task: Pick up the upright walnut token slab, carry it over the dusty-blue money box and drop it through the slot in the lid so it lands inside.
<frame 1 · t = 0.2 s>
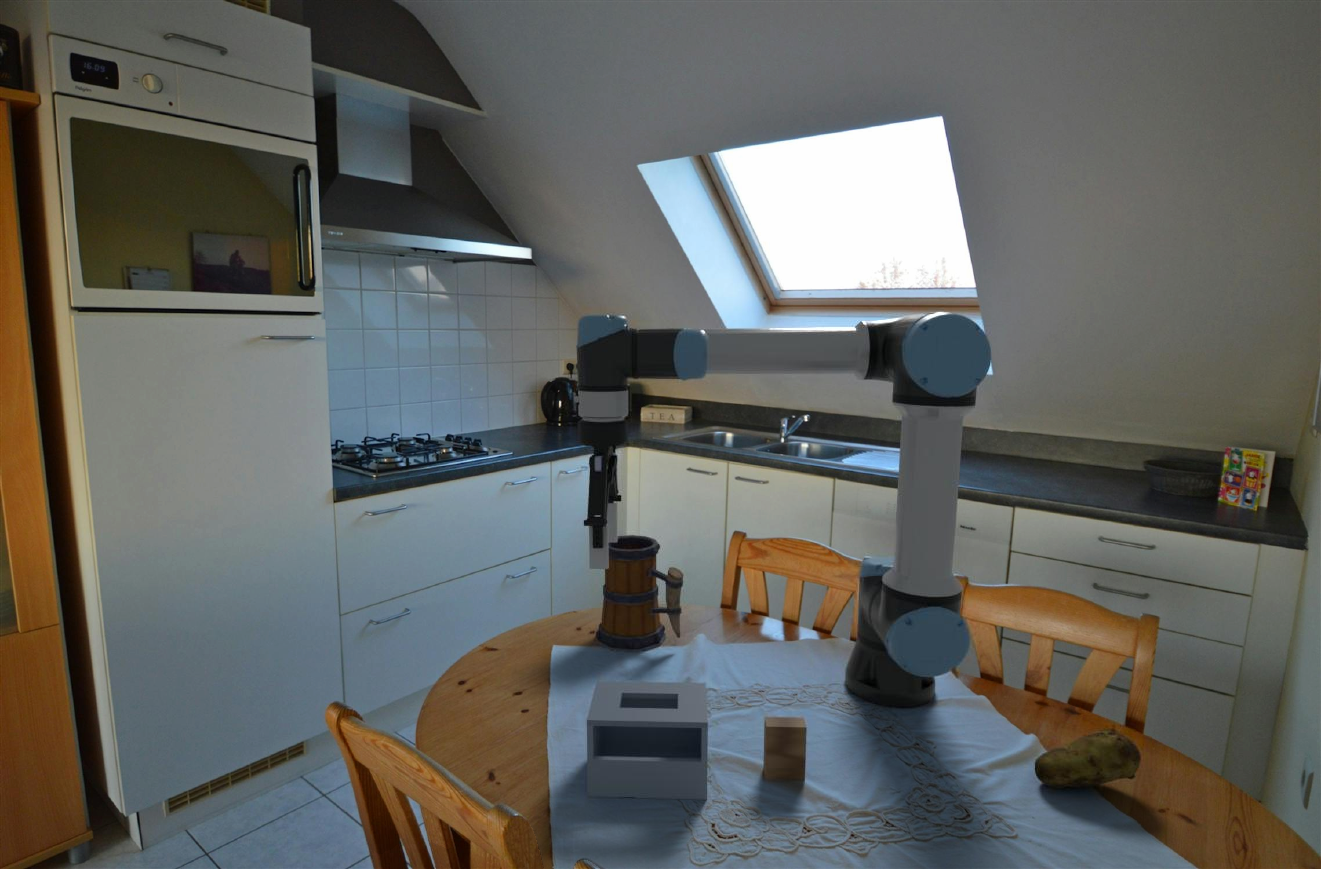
hand: (604, 554, 114), 28 cm above the table, fingers open, 13 cm apart
potato: (1083, 787, 102), on the table
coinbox: (649, 773, 104), on the table
token: (783, 774, 104), on the table
mug: (640, 640, 149), on the table
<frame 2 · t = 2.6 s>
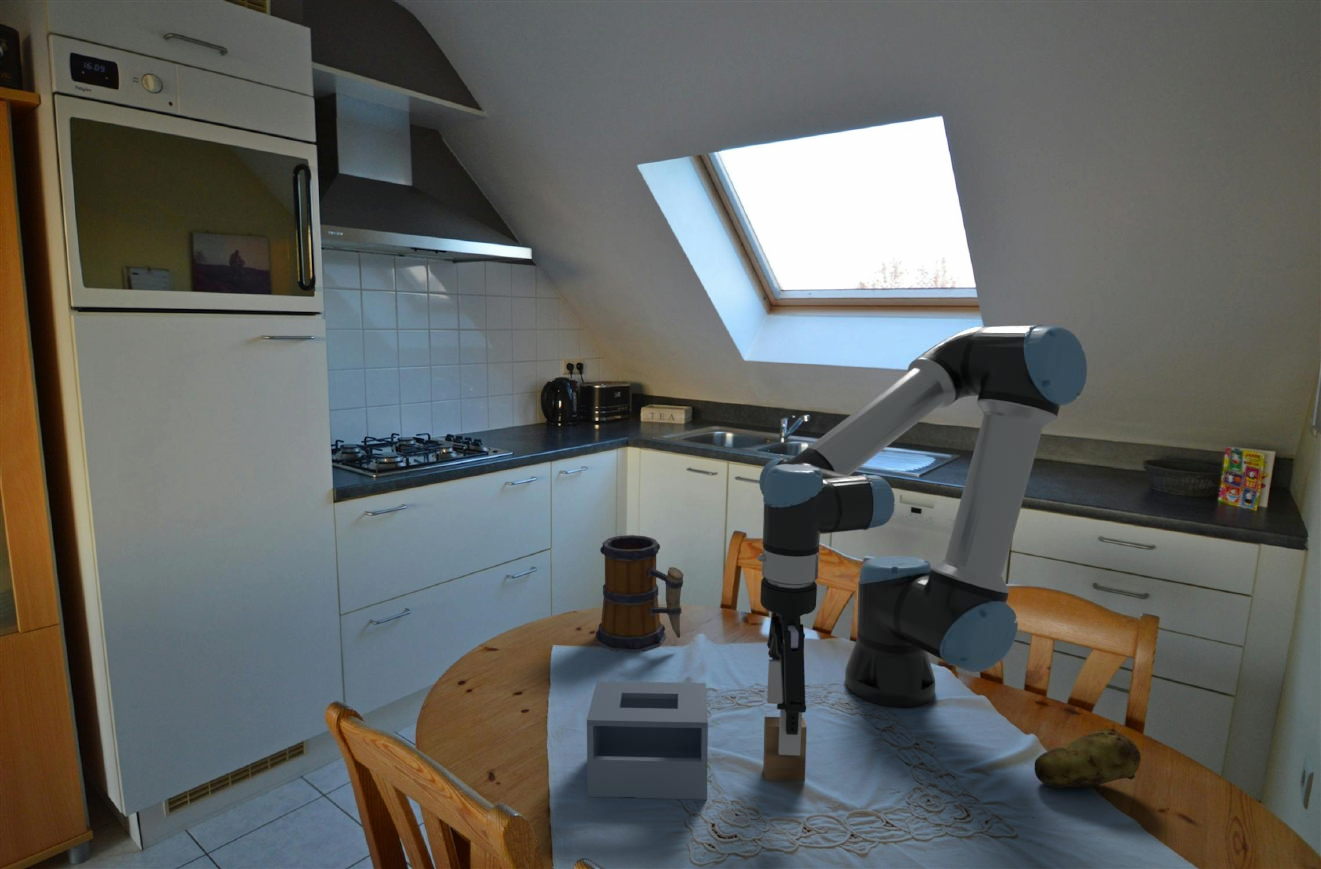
hand: (782, 726, 103), 7 cm above the table, fingers open, 13 cm apart
nothing on the table moved.
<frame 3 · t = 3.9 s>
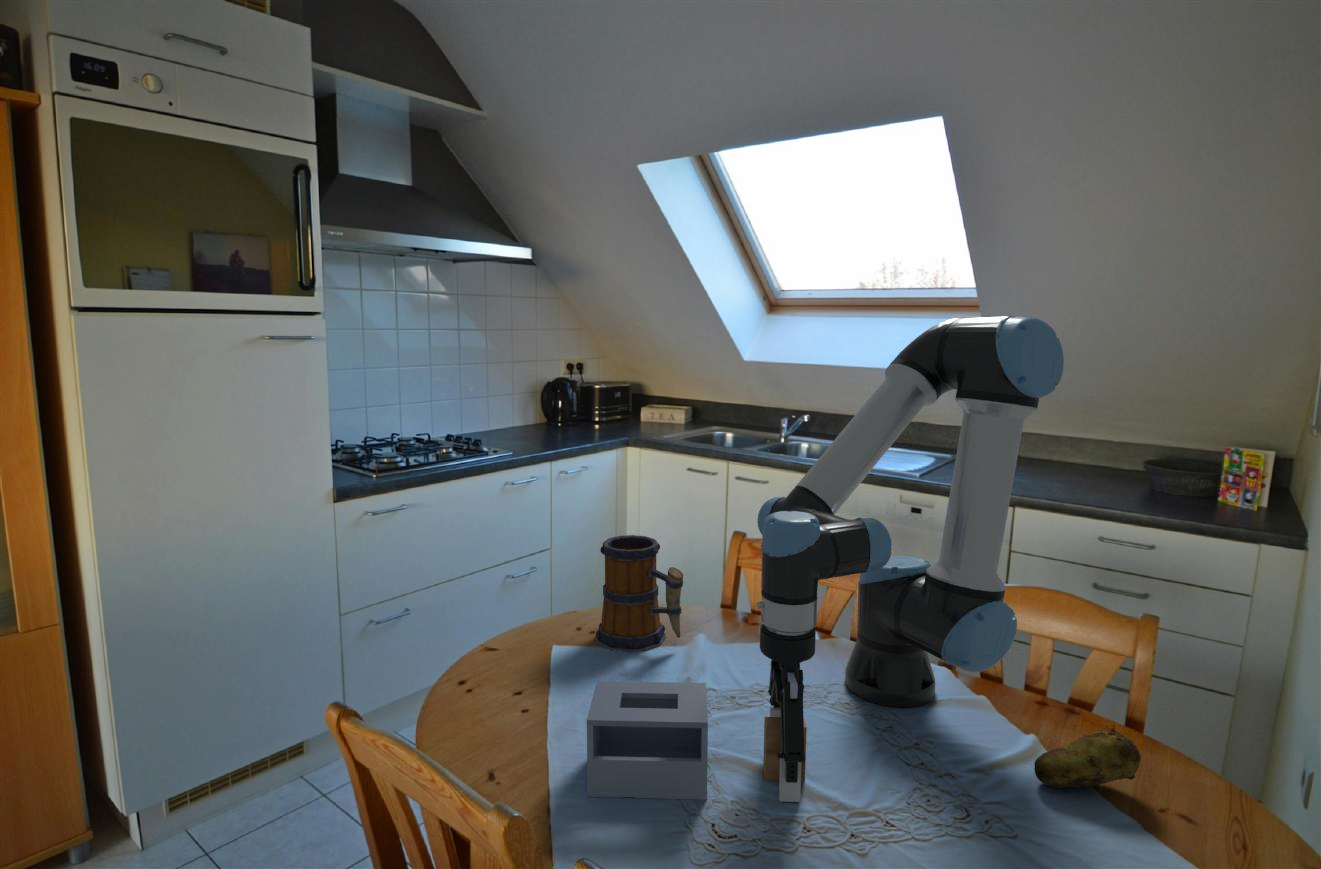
hand: (783, 773, 104), 0 cm above the table, fingers open, 11 cm apart
nothing on the table moved.
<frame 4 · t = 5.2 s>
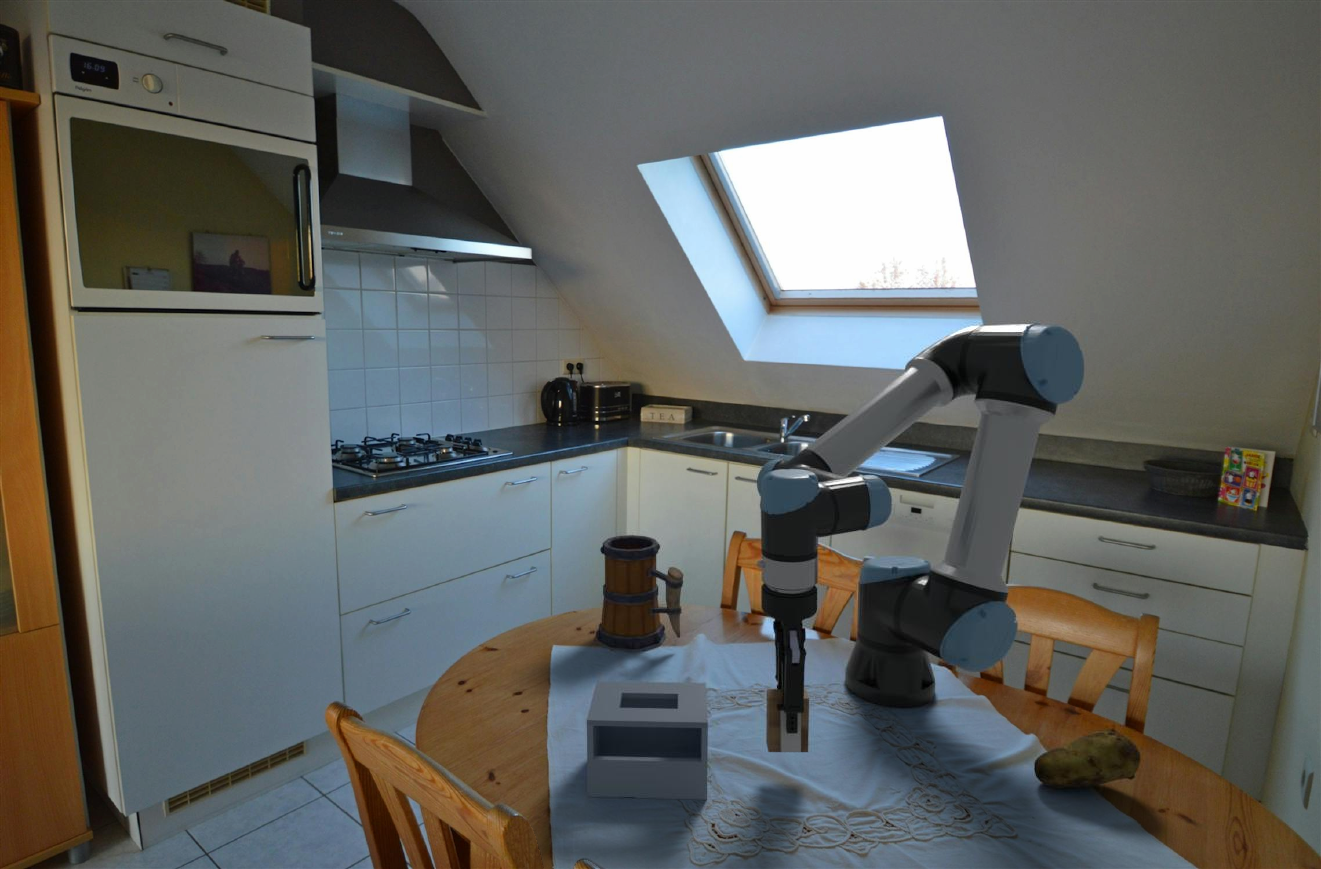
hand: (789, 743, 104), 5 cm above the table, fingers closed on token, 3 cm apart
token: (786, 746, 104), point 4 cm above the table, touching gripper
everything else where it was.
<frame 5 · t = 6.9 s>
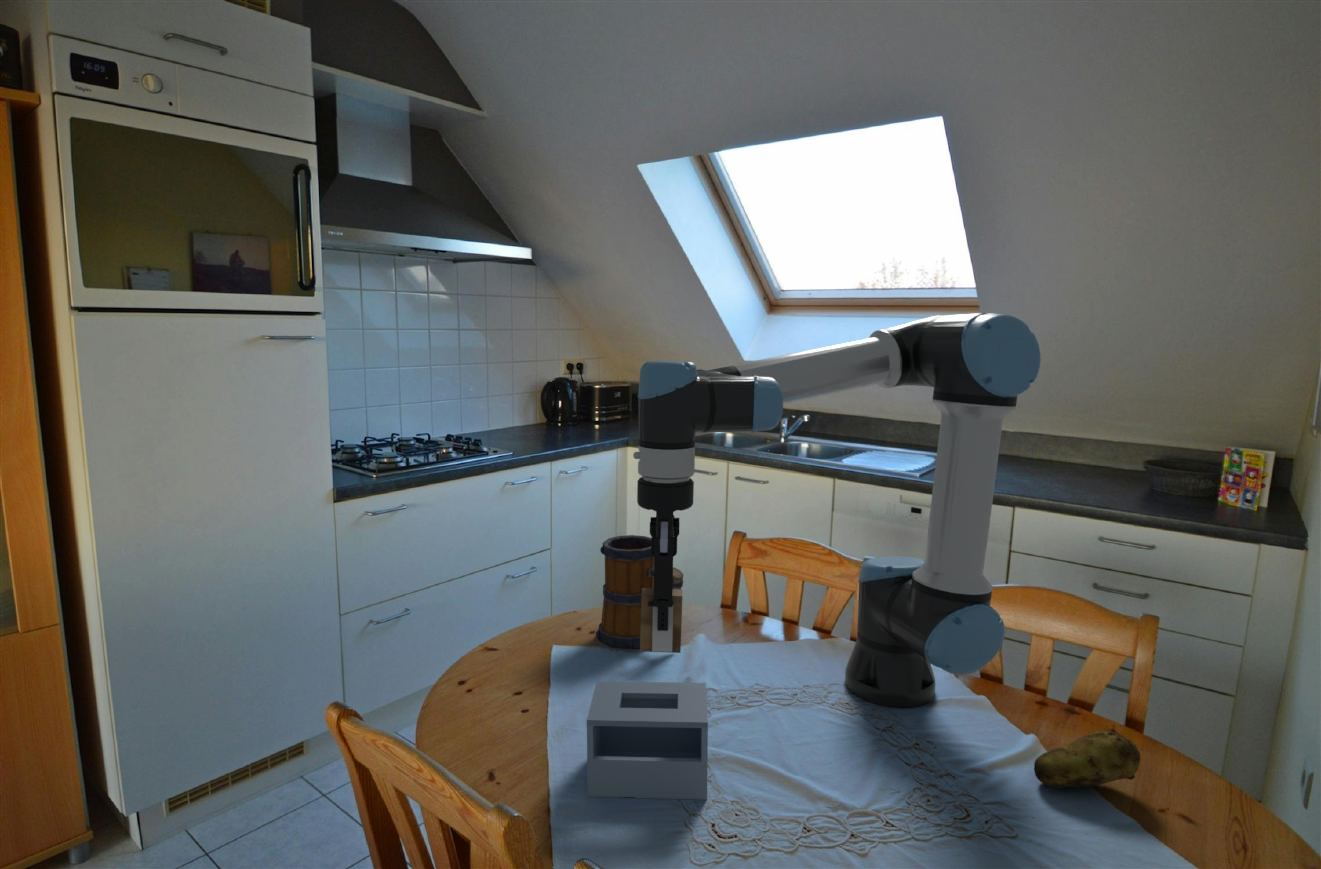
hand: (662, 644, 101), 19 cm above the table, fingers closed on token, 3 cm apart
token: (660, 647, 101), point 19 cm above the table, touching gripper
everything else where it was.
when the fingers open (12 cm above the table, at t = 8.8 s): token drops 11 cm, resting on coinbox.
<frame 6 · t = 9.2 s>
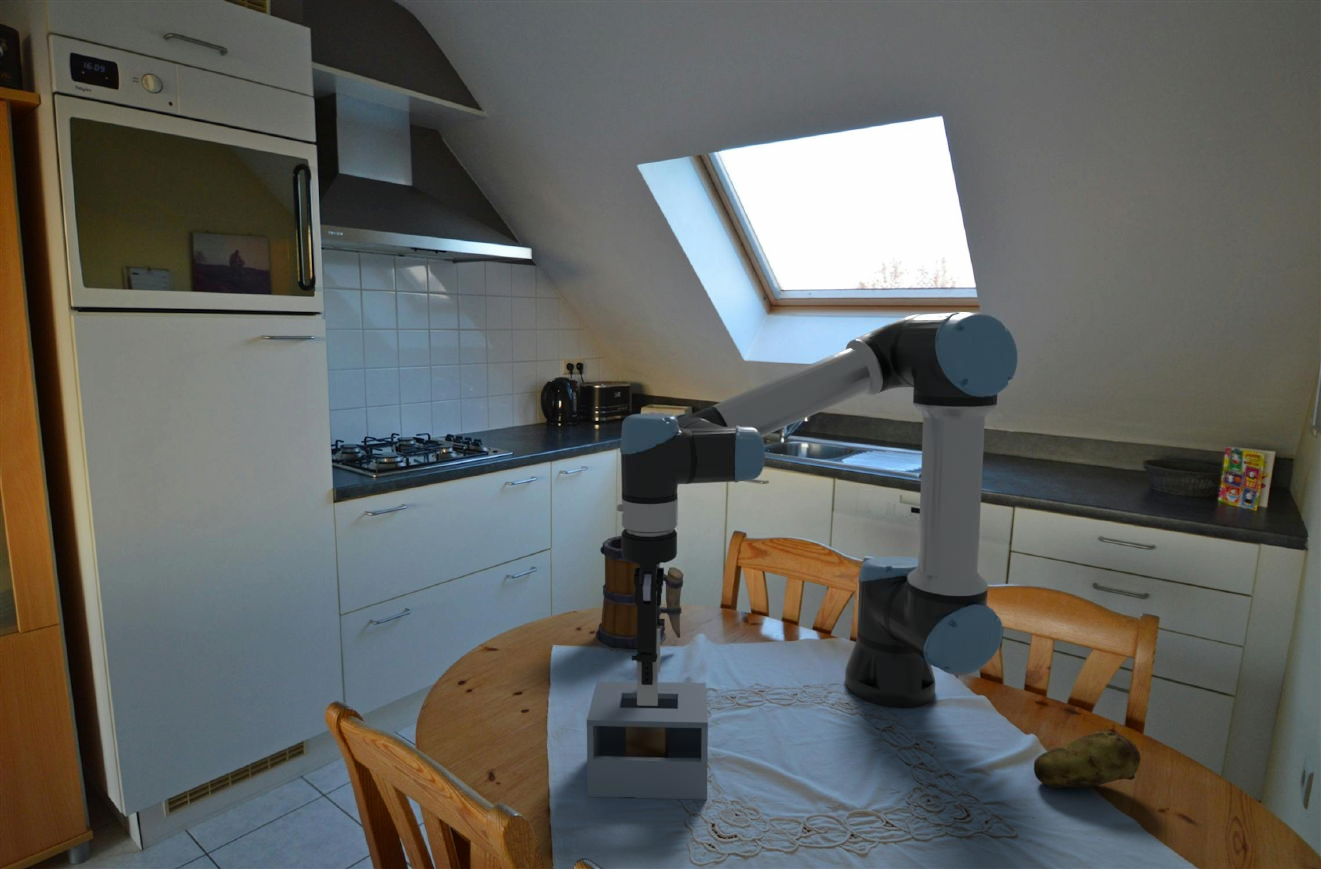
hand: (649, 686, 102), 13 cm above the table, fingers open, 9 cm apart
token: (647, 768, 104), point 1 cm above the table, touching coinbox
everything else where it was.
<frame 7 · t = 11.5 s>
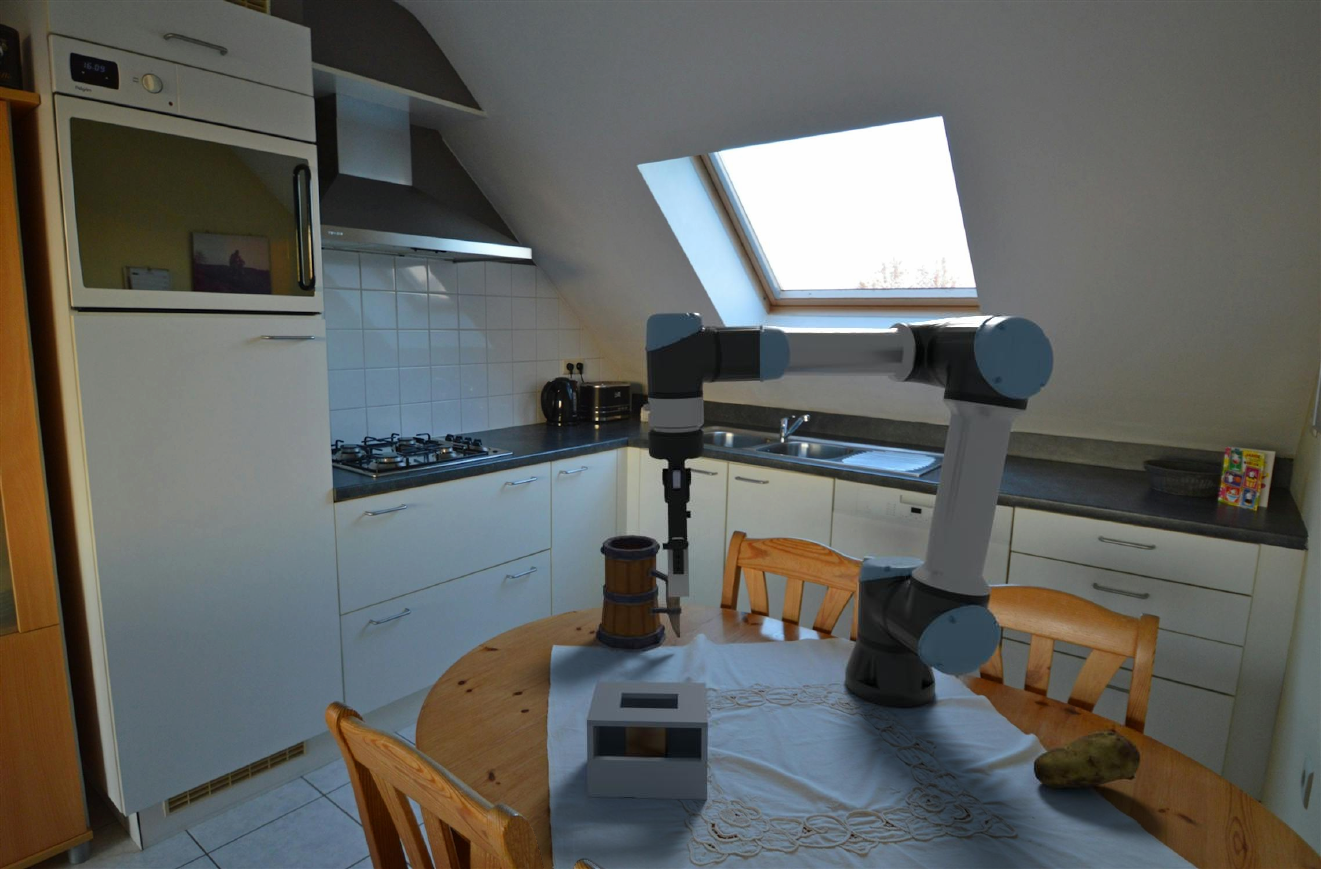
hand: (678, 578, 103), 28 cm above the table, fingers open, 13 cm apart
nothing on the table moved.
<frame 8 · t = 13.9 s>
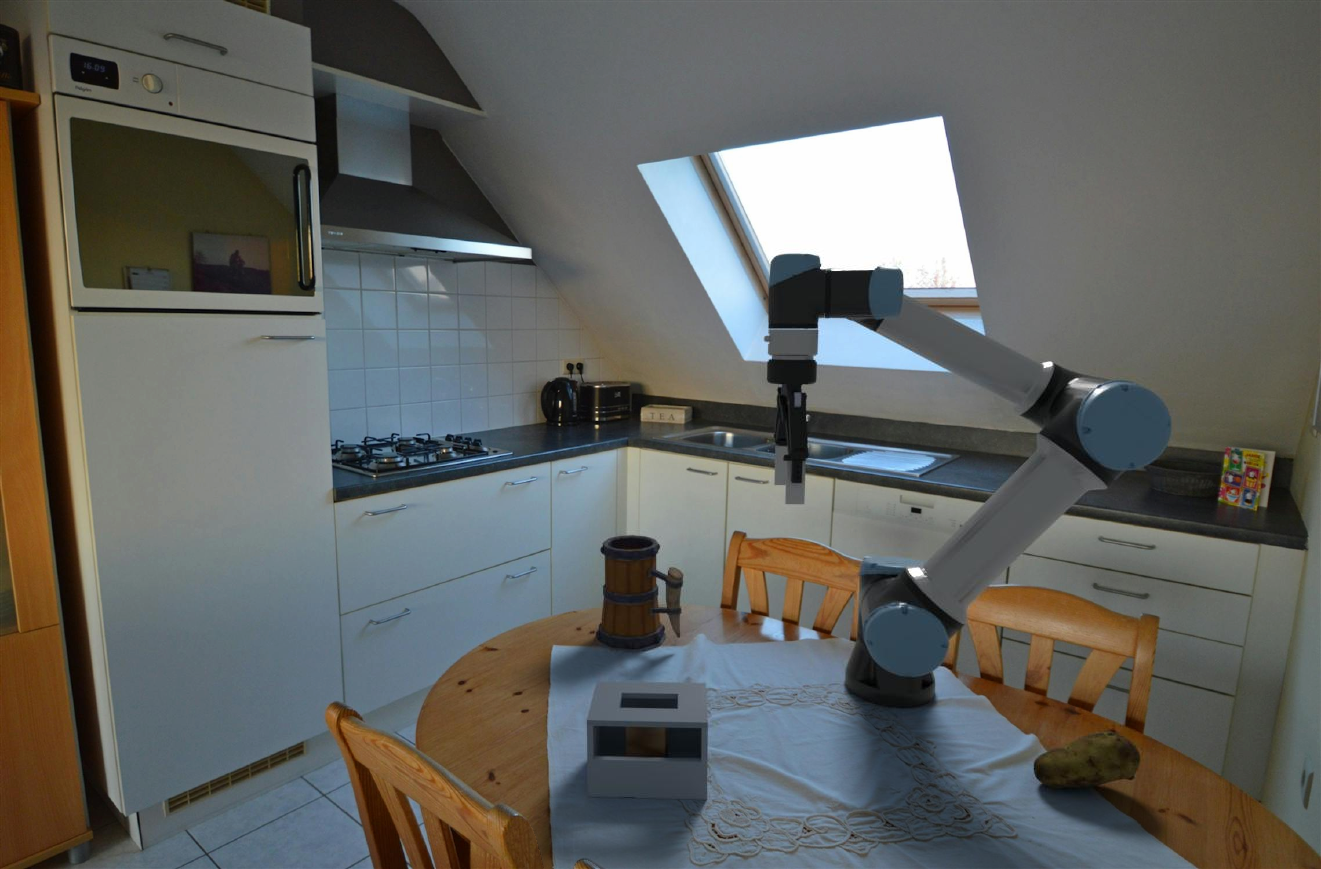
hand: (788, 493, 116), 37 cm above the table, fingers open, 13 cm apart
nothing on the table moved.
at the end: token inside the target area on the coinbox (0.3 cm from its centre), point 0.8 cm above the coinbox's base; the gripper is holding nothing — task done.
